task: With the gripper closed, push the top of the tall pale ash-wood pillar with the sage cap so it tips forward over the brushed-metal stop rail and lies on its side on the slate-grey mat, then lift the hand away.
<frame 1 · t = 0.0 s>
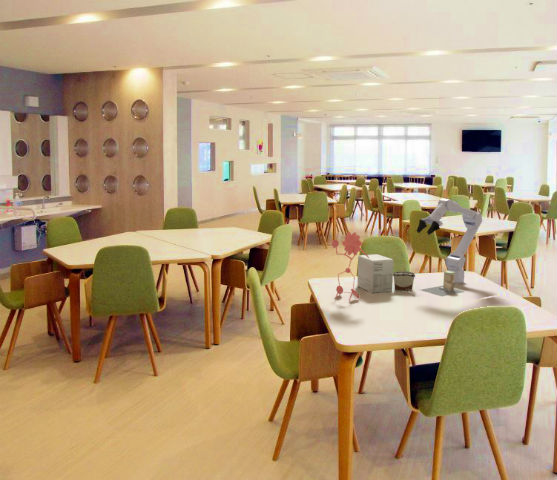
hand: (422, 232, 326), 32 cm above the table, tool tilted 50°, fingers open, 7 cm apart
supplement box: (374, 289, 333), on the table
mat: (442, 292, 326), on the table
figurine: (350, 297, 315), on the table
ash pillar: (448, 289, 328), point 1 cm above the table, touching mat
food container: (402, 290, 331), on the table
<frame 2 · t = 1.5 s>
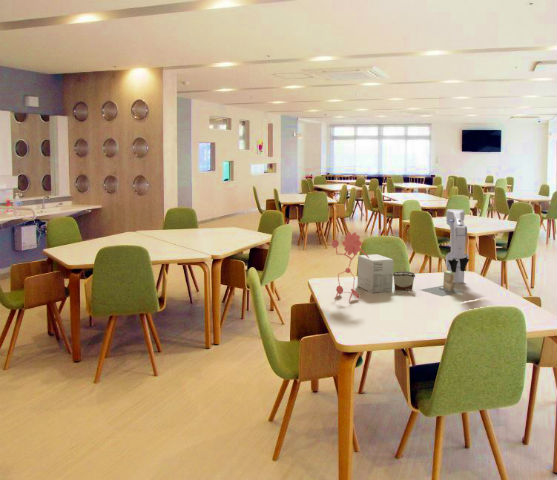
hand: (458, 271, 330), 10 cm above the table, tool pointing down, fingers open, 7 cm apart
nothing on the table moved.
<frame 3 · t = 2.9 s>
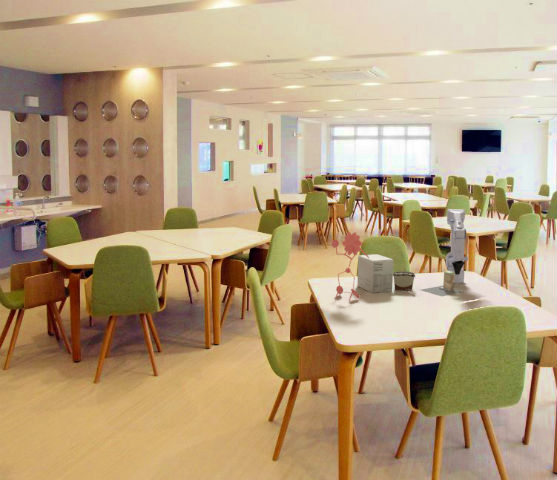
hand: (457, 274, 330), 9 cm above the table, tool pointing down, fingers closed
nothing on the table moved.
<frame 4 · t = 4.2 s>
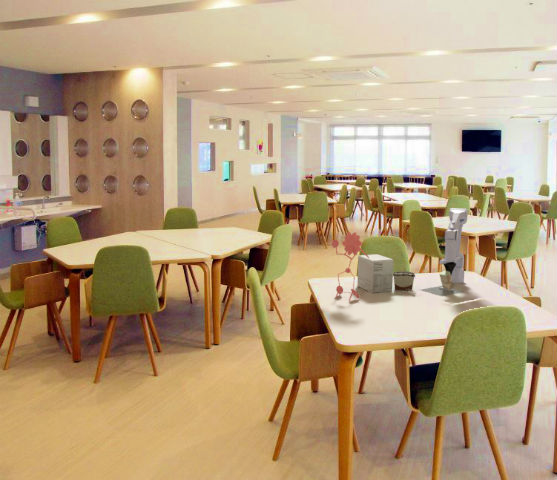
hand: (449, 275, 327), 9 cm above the table, tool pointing down, fingers closed
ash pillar: (448, 288, 328), point 2 cm above the table, tilted 23°, touching gripper, mat
everything else where it was.
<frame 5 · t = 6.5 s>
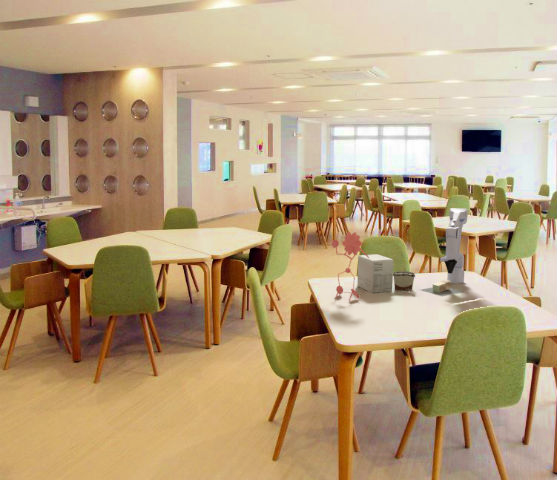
hand: (450, 273, 327), 10 cm above the table, tool pointing down, fingers closed
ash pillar: (448, 283, 327), point 4 cm above the table, tilted 98°, touching mat
everything else where it was.
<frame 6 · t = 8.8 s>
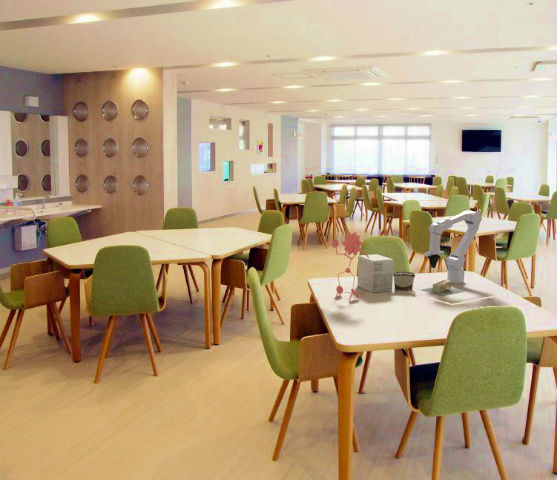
hand: (433, 267, 340), 10 cm above the table, tool pointing down, fingers closed
nothing on the table moved.
at the end: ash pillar tilted 98°; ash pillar inside the target area (2.4 cm from its centre), point 4.4 cm above the table; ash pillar touching mat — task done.
